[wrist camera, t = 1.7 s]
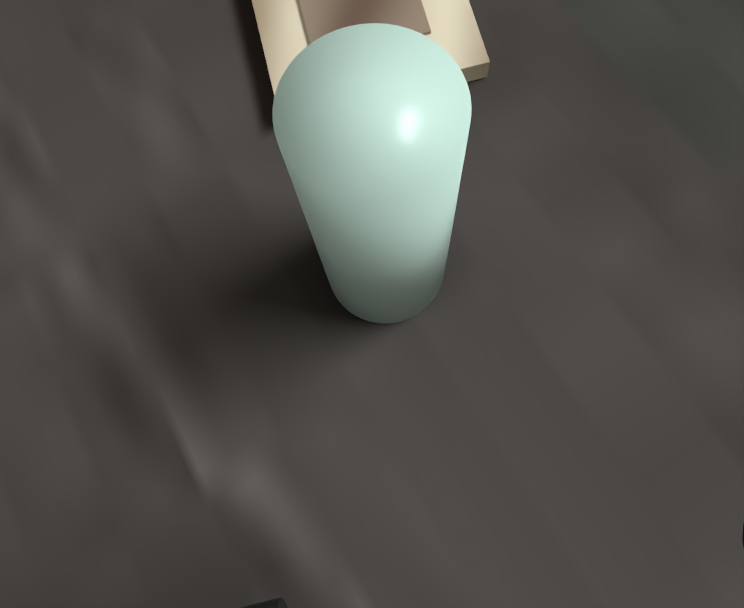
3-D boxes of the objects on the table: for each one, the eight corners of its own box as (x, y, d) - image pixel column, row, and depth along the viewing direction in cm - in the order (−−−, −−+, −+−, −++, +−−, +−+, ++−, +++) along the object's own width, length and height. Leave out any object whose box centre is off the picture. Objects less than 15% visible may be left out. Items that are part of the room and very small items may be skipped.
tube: (342, 336, 30) (295, 222, 17) (316, 228, 31) (255, 48, 18) (458, 307, 30) (496, 171, 17) (427, 200, 31) (440, 3, 19)
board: (283, 127, 32) (277, 111, 31) (243, -41, 35) (236, -62, 34) (486, 77, 33) (490, 59, 31) (431, -86, 35) (432, -109, 34)
